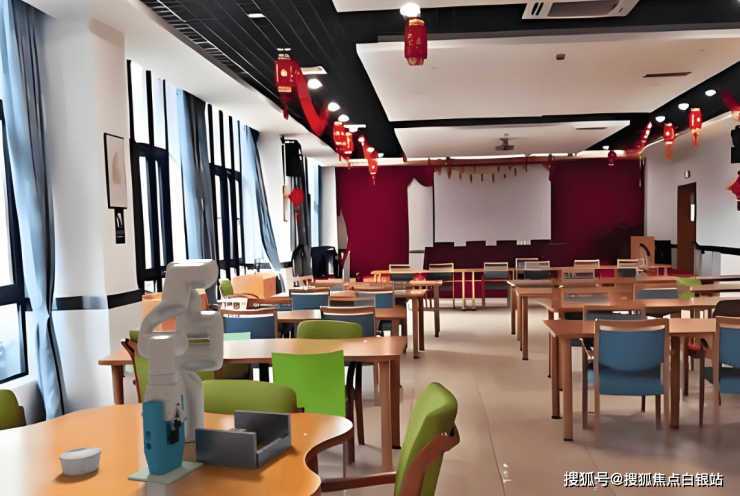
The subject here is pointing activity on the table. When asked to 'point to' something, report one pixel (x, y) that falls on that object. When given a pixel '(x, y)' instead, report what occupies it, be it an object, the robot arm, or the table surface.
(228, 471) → the table surface
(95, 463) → the ramekin
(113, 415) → the table surface
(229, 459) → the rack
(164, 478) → the mat
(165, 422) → the block
